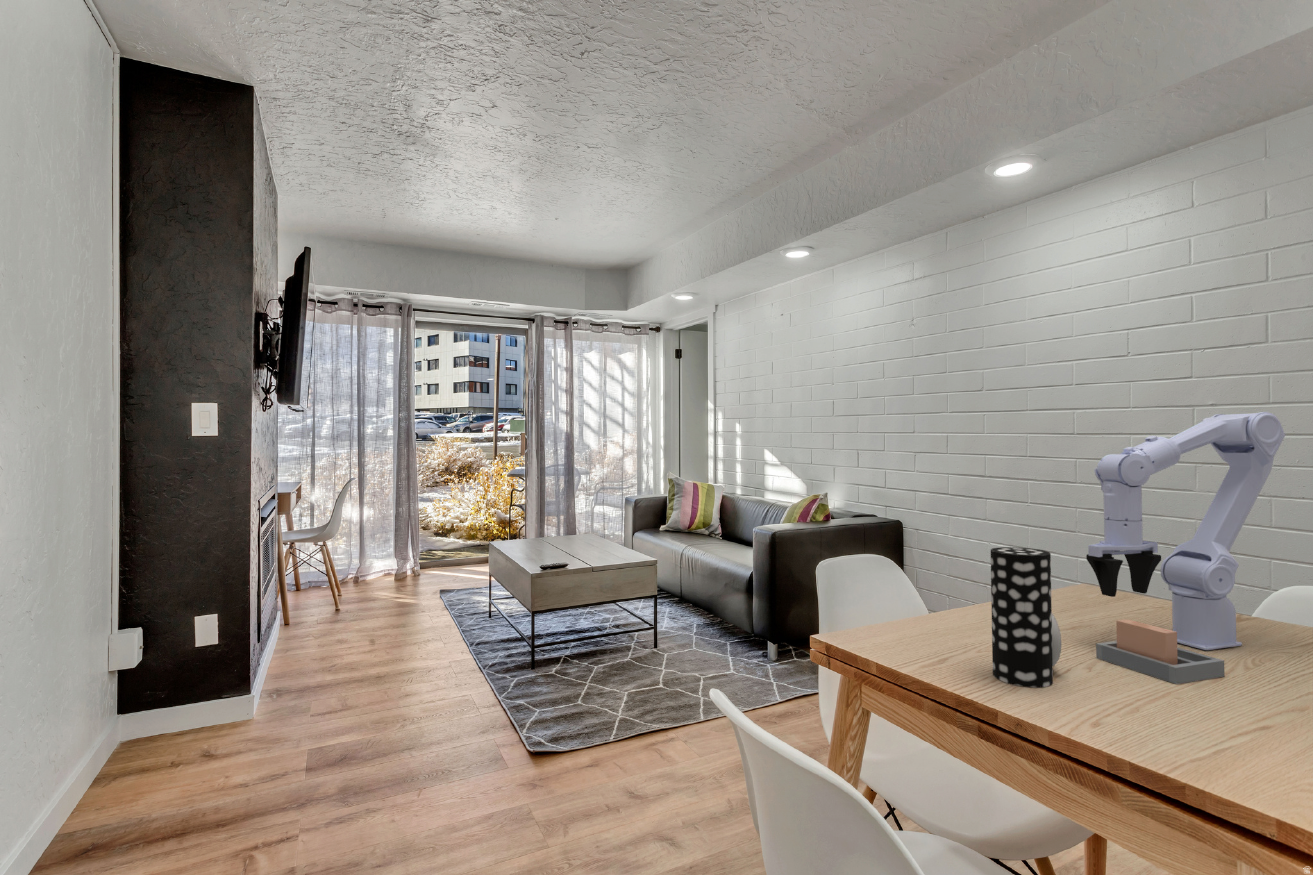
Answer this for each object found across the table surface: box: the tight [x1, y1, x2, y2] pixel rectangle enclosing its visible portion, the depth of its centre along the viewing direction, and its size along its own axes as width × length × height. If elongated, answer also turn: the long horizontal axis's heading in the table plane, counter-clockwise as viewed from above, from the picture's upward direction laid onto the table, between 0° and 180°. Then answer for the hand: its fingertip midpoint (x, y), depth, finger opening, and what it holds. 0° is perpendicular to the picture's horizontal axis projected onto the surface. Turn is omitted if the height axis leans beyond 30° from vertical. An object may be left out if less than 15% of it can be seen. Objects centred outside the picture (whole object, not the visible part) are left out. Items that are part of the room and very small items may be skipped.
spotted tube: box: [990, 546, 1054, 688], centre depth 103 cm, size 8×8×20 cm
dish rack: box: [1095, 640, 1225, 685], centre depth 107 cm, size 11×13×2 cm
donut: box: [1052, 613, 1062, 667], centre depth 108 cm, size 10×4×10 cm, turn 170°
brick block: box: [1116, 618, 1178, 665], centre depth 107 cm, size 2×8×7 cm, turn 17°
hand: (1124, 593), depth 119 cm, fingers open, 7 cm apart
